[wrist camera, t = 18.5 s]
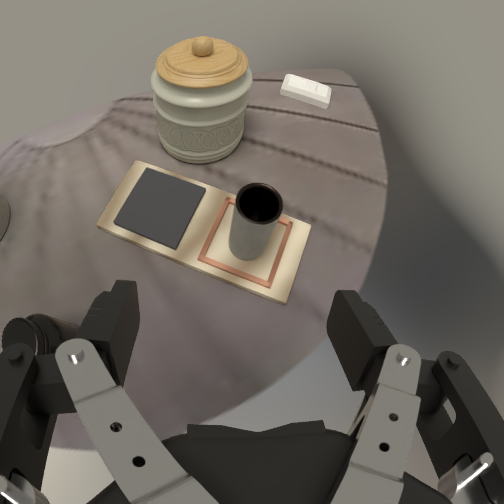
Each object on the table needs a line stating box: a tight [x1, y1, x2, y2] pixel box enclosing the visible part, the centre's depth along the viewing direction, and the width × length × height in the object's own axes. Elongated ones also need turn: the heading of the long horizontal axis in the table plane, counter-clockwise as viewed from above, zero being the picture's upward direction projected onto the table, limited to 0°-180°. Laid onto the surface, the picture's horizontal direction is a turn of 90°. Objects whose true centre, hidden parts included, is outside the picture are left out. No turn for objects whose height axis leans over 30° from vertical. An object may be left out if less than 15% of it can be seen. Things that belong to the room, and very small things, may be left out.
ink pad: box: [113, 167, 206, 250], centre depth 38 cm, size 9×9×1 cm
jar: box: [151, 36, 252, 164], centre depth 37 cm, size 13×13×18 cm
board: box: [96, 160, 311, 305], centre depth 38 cm, size 26×11×2 cm, turn 69°
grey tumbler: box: [228, 183, 283, 260], centre depth 33 cm, size 4×4×10 cm
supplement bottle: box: [2, 314, 80, 355], centre depth 26 cm, size 7×7×12 cm
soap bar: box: [280, 74, 331, 109], centre depth 50 cm, size 5×9×3 cm, turn 75°
